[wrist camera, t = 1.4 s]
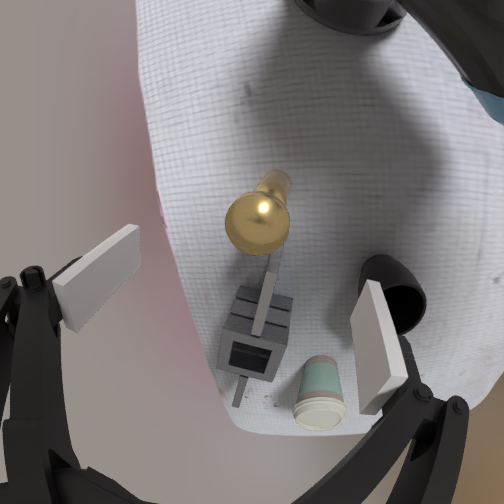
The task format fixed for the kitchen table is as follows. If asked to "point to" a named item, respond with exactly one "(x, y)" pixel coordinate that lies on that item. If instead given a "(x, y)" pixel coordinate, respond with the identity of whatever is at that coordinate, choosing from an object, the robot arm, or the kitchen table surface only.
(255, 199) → the pin
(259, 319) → the grey piece
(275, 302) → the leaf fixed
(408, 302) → the mug
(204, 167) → the kitchen table surface
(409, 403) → the robot arm
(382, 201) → the kitchen table surface
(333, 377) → the coffee cup
